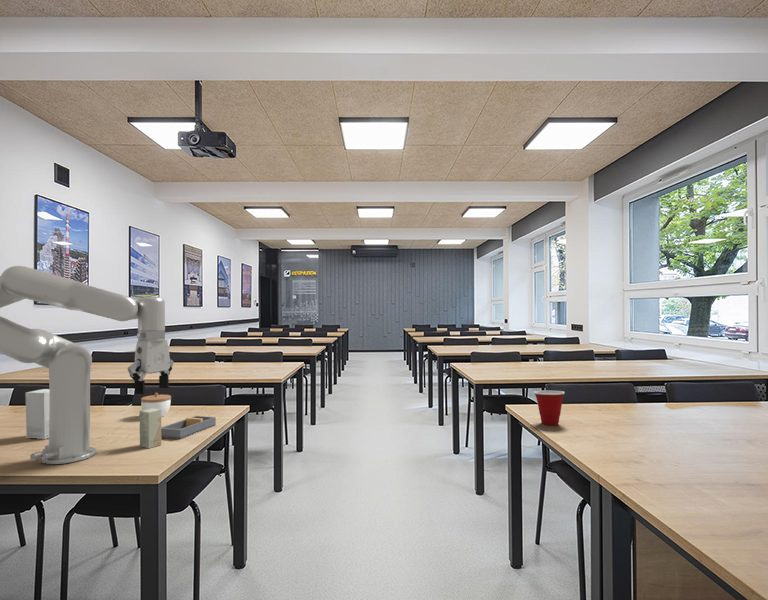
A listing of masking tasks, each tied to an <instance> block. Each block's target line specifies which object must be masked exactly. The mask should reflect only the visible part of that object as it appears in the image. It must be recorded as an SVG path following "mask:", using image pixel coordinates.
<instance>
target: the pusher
mask: <svg viewBox="0 0 768 600" xmlns="http://www.w3.org/2000/svg"><path fill="white" fill-rule="evenodd" d="M185 419H186V427H188V426H190V425H193V424H196V423H199V422H201V421H203V419H202V418H191V417H186V418H185Z"/></svg>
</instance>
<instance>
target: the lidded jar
mask: <svg viewBox="0 0 768 600" xmlns="http://www.w3.org/2000/svg"><path fill="white" fill-rule="evenodd" d="M171 400H172V395H170V394H159V393H158V392H155V393H154V394H153V395H147V396H143V397H141V398H140V402H141V407H140V408H141V410H146V409H152V408H153V409H160V410H161V418H163V417H165V416H164V415H167V414H168V412H169V410H170V409H171V408H170V407H171V402H172V401H171ZM162 416H163V417H162Z"/></svg>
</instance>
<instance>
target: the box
mask: <svg viewBox="0 0 768 600" xmlns="http://www.w3.org/2000/svg"><path fill="white" fill-rule="evenodd" d="M161 427H162V417H161V410H160V409H153V408H152V409H146V410H142V409H141V410H139V447H140V448H141V447H142V448H146V449H151V448H154V447H158V446H162V438H161Z"/></svg>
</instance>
